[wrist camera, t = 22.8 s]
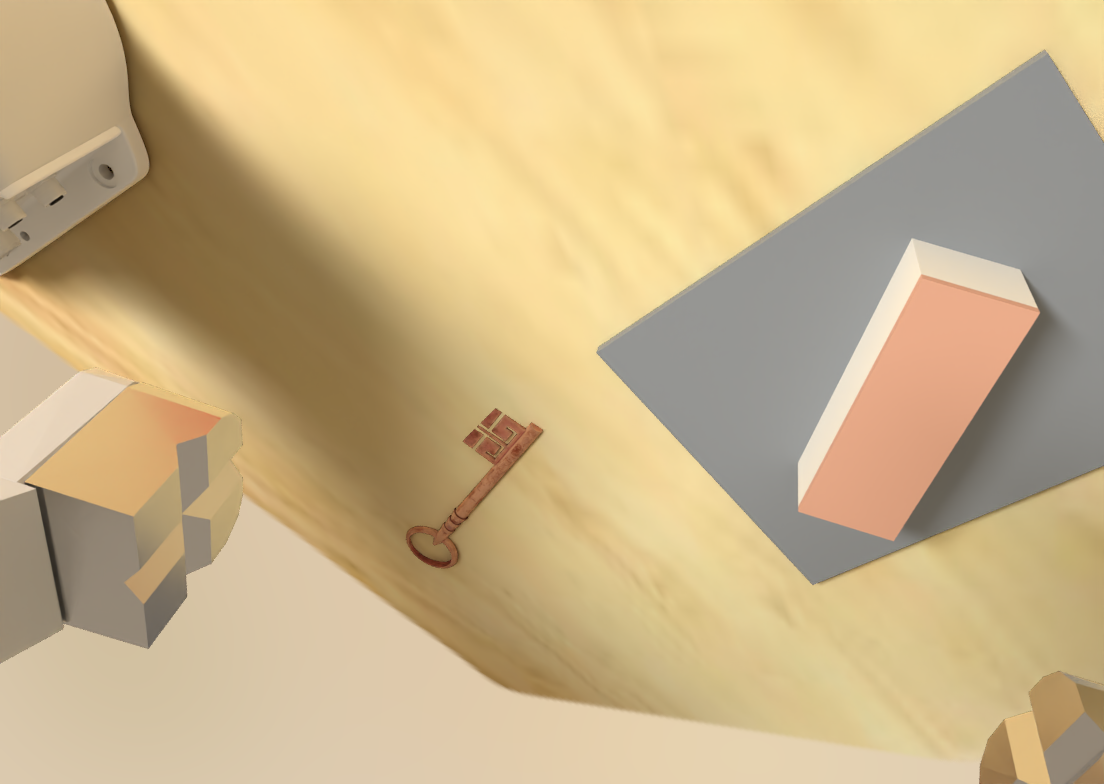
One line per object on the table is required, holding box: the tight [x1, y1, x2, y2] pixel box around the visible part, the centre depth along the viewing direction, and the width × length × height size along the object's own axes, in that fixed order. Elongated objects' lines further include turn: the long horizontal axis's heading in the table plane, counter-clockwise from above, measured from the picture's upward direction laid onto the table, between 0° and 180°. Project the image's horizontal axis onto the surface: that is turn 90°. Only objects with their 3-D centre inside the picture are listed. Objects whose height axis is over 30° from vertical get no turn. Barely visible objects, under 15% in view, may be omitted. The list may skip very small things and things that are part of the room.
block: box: [798, 238, 1040, 541], centre depth 43 cm, size 4×5×14 cm
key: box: [406, 408, 543, 568], centre depth 56 cm, size 6×1×15 cm
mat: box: [597, 50, 1104, 585], centre depth 44 cm, size 24×20×1 cm
